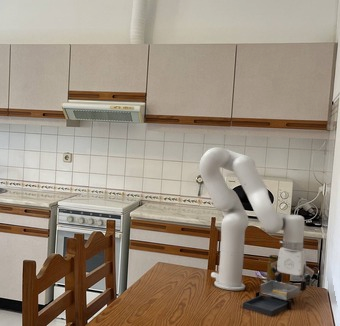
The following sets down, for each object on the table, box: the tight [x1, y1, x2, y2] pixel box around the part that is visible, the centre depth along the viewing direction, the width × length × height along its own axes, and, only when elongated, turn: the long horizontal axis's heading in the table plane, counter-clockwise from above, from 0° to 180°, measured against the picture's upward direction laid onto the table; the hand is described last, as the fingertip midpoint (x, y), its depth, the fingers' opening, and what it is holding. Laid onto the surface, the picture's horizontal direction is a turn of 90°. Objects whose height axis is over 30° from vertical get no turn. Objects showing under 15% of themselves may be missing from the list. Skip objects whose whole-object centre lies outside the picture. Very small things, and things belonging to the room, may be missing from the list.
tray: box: [242, 294, 288, 317], centre depth 185 cm, size 11×15×2 cm
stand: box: [254, 290, 294, 310], centre depth 192 cm, size 13×10×3 cm
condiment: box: [261, 254, 283, 283], centre depth 218 cm, size 7×8×12 cm
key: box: [273, 289, 287, 295], centre depth 193 cm, size 6×2×1 cm, turn 46°
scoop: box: [259, 280, 301, 301], centre depth 195 cm, size 11×17×4 cm
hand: (290, 287), depth 199 cm, fingers open, 9 cm apart
